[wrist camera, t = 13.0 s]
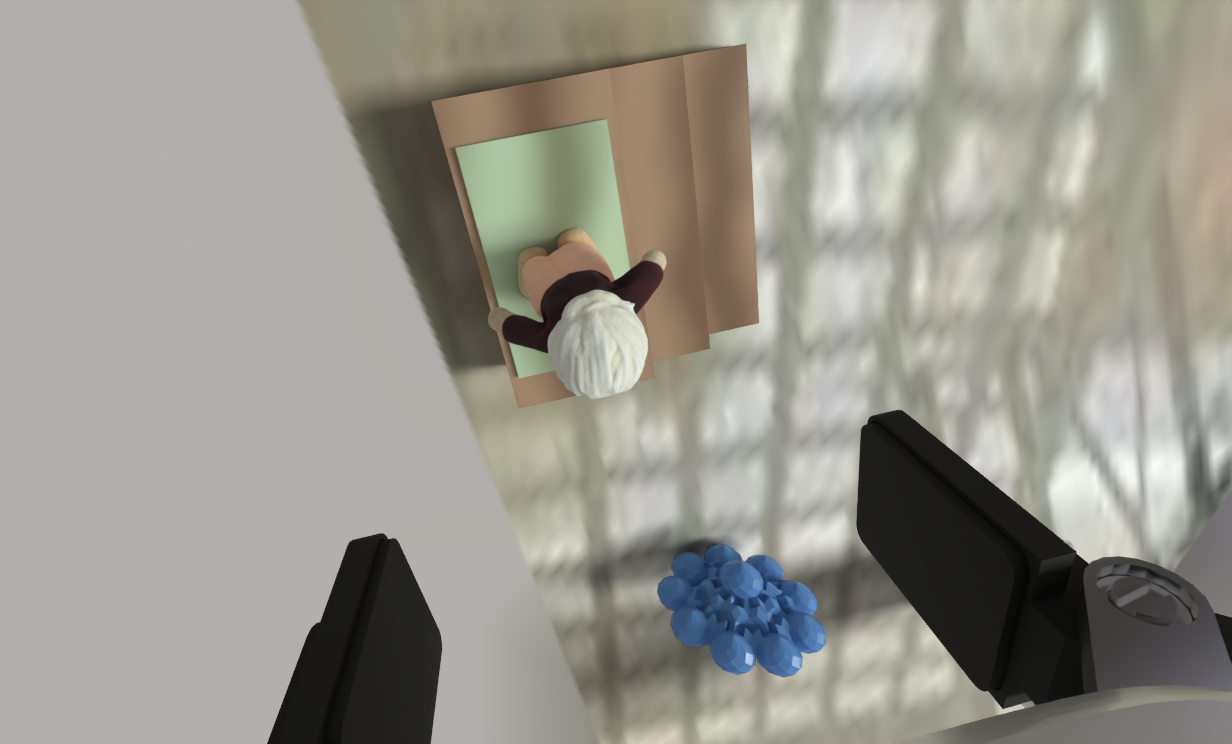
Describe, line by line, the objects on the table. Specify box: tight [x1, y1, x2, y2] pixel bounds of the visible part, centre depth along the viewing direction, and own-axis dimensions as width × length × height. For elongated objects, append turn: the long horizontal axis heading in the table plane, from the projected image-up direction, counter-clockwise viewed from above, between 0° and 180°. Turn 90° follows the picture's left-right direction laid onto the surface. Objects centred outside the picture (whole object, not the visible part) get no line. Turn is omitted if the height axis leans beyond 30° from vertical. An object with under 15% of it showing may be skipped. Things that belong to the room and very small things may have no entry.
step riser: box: [431, 44, 759, 408], centre depth 32 cm, size 16×16×6 cm
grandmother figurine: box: [488, 228, 667, 399], centre depth 23 cm, size 8×4×13 cm, turn 120°
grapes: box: [657, 545, 826, 677], centre depth 42 cm, size 12×7×12 cm, turn 92°
